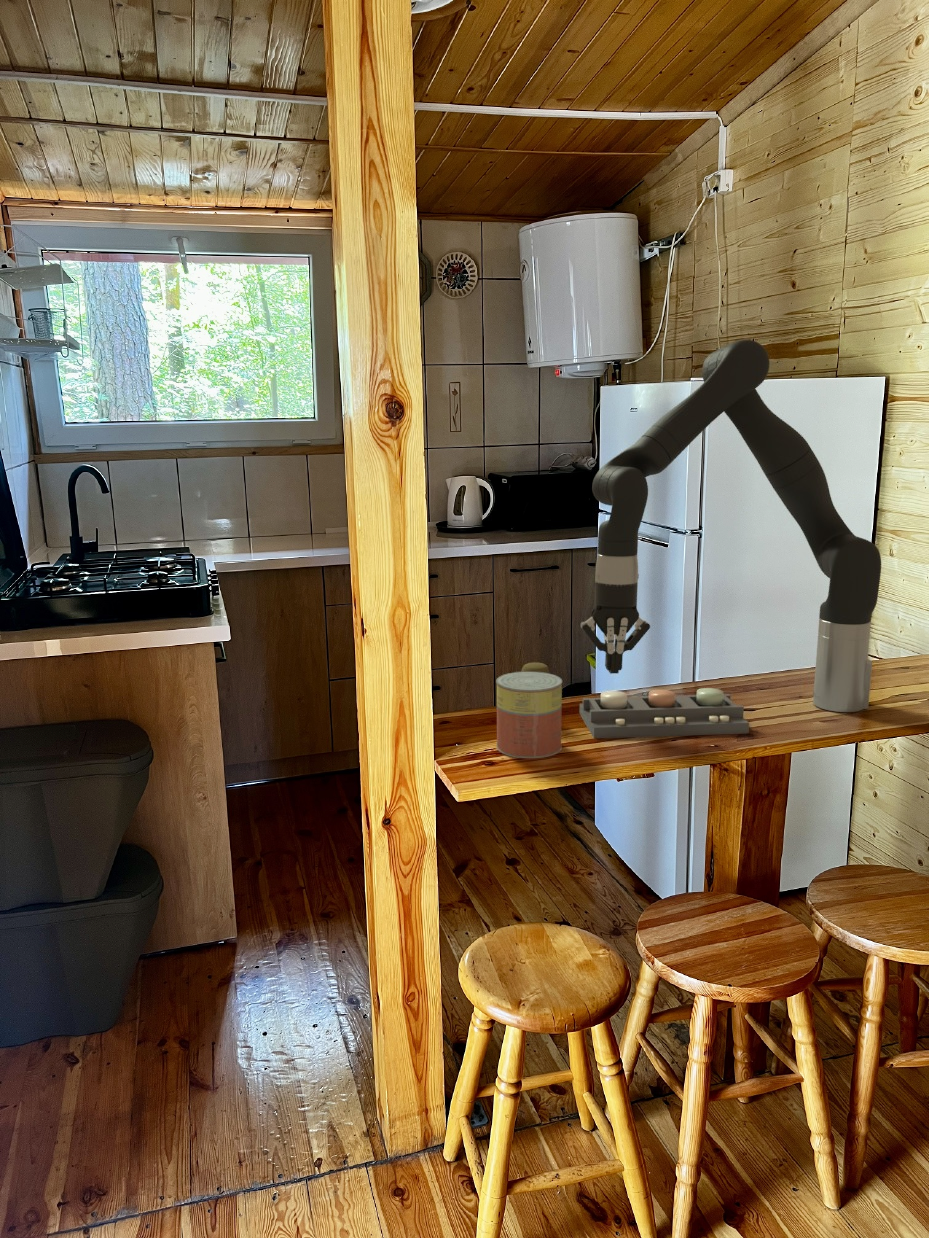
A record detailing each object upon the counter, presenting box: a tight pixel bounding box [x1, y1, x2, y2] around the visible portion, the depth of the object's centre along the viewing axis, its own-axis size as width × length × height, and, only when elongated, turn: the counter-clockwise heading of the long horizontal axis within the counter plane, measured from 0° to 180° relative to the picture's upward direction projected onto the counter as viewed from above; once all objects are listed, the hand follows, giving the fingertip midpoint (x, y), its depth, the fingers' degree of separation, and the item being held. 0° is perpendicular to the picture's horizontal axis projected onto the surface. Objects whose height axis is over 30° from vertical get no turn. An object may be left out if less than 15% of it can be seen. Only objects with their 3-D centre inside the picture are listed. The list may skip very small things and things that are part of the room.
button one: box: [600, 690, 628, 709], centre depth 170 cm, size 5×5×2 cm
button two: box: [696, 687, 725, 706], centre depth 171 cm, size 5×5×2 cm
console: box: [579, 693, 750, 739], centre depth 171 cm, size 28×14×4 cm, turn 94°
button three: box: [648, 688, 676, 708], centre depth 171 cm, size 5×5×2 cm
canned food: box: [495, 671, 563, 759], centre depth 159 cm, size 11×11×12 cm
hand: (613, 672), depth 169 cm, fingers closed
